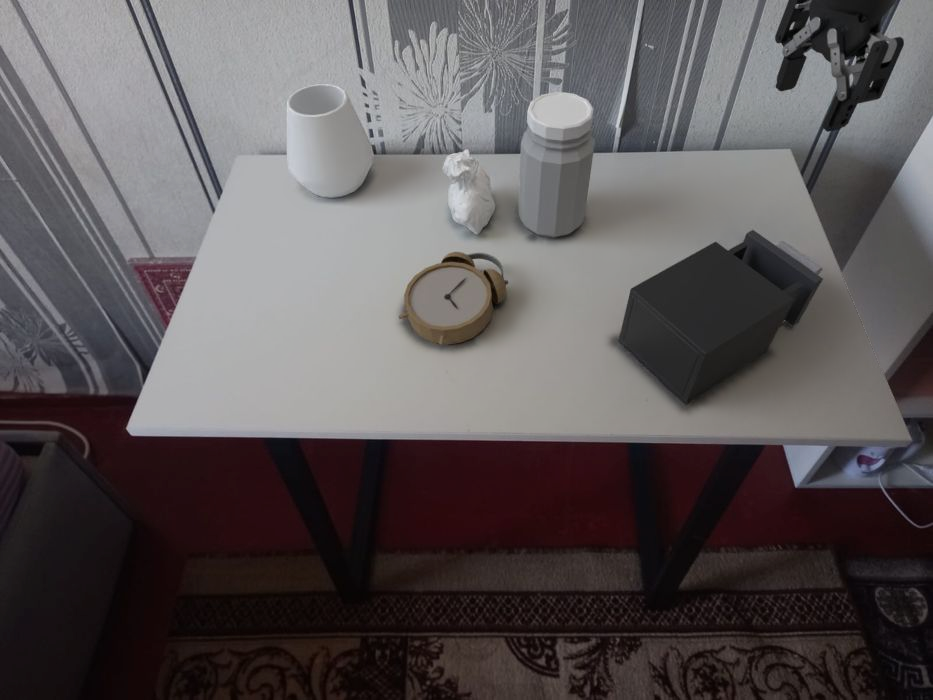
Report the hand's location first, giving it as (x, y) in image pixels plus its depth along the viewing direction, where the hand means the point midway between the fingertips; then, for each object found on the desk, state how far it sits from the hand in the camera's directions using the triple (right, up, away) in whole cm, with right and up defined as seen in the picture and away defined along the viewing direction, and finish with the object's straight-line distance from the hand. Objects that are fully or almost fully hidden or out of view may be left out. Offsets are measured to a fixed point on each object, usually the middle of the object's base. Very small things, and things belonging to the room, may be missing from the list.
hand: (807, 108), depth 72 cm
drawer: (-2, -22, +11) cm, 25 cm away
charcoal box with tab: (-10, -26, +9) cm, 29 cm away
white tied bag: (-37, -7, +26) cm, 46 cm away
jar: (-25, -7, +25) cm, 36 cm away
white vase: (-58, 0, +33) cm, 67 cm away
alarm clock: (-39, -21, +15) cm, 46 cm away
